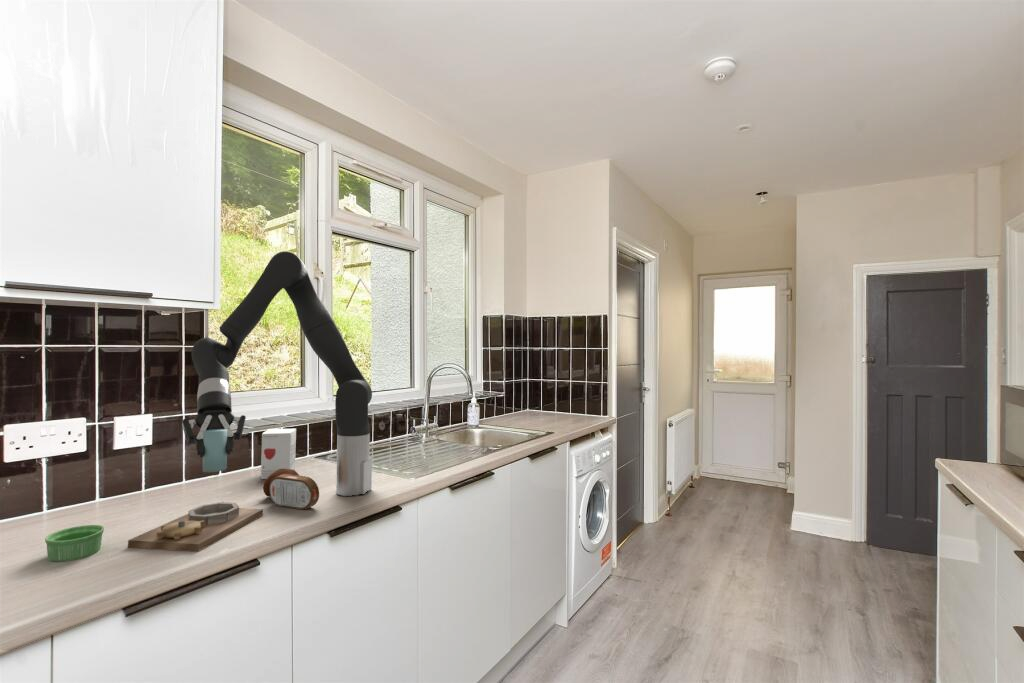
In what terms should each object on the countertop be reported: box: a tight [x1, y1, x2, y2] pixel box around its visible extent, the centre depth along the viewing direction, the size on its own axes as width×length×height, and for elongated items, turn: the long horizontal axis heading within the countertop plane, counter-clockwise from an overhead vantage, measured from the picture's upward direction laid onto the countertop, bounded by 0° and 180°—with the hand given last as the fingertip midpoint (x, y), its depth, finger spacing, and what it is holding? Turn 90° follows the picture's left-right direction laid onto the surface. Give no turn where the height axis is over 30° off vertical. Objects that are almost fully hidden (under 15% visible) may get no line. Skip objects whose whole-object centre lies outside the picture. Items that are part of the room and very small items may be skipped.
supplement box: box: [260, 428, 297, 480], centre depth 160 cm, size 9×9×15 cm
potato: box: [262, 468, 300, 498], centre depth 139 cm, size 8×12×8 cm, turn 156°
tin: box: [269, 474, 320, 511], centre depth 129 cm, size 15×3×8 cm, turn 71°
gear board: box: [127, 501, 264, 552], centre depth 112 cm, size 16×22×4 cm
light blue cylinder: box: [202, 429, 228, 473], centre depth 117 cm, size 5×5×10 cm
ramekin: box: [44, 524, 105, 563], centre depth 99 cm, size 9×9×4 cm
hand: (215, 453), depth 115 cm, fingers closed on light blue cylinder, 5 cm apart
